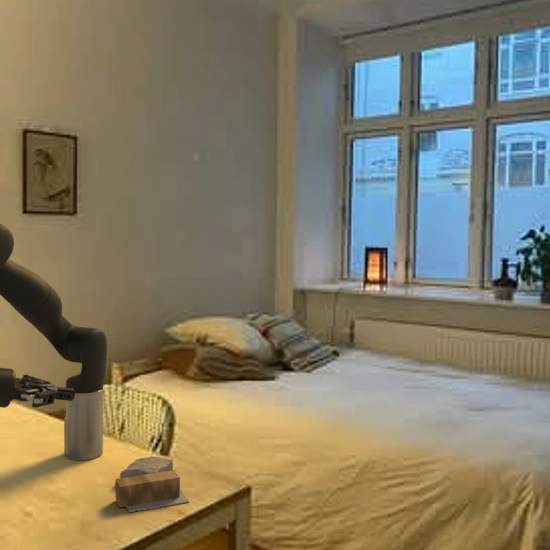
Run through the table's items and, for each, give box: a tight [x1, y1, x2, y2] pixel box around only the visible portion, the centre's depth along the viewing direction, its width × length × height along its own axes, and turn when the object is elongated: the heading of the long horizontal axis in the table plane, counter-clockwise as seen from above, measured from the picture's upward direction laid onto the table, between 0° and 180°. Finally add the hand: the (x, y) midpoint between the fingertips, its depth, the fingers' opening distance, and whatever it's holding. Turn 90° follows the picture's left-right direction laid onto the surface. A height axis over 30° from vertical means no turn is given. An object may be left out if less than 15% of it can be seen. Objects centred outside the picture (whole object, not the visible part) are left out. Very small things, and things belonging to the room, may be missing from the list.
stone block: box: [119, 455, 174, 478], centre depth 150 cm, size 12×5×10 cm
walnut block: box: [115, 470, 181, 508], centre depth 138 cm, size 4×4×13 cm
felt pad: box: [125, 490, 190, 514], centre depth 139 cm, size 13×10×1 cm
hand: (73, 394), depth 132 cm, fingers closed
